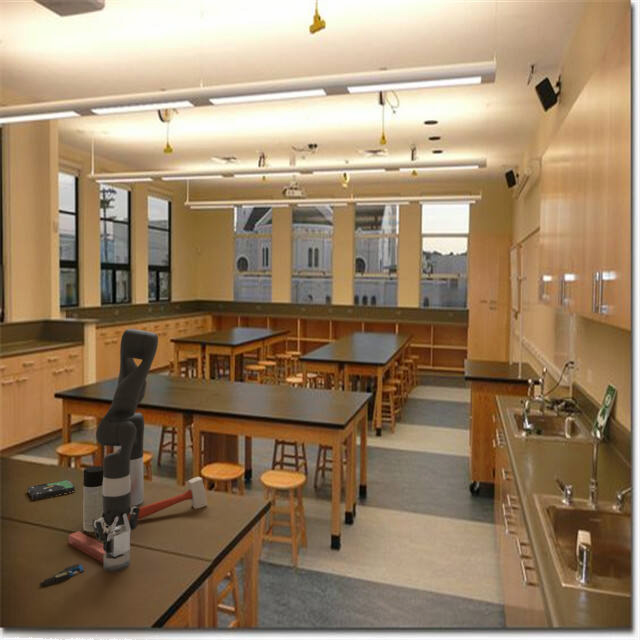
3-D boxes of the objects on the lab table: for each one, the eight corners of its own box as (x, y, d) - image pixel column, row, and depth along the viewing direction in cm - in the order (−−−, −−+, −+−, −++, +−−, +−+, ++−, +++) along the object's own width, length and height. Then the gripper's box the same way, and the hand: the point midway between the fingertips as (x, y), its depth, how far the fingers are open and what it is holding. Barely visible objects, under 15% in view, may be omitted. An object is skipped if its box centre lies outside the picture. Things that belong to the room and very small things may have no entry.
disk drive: (32, 502, 199) (75, 493, 209) (32, 495, 199) (75, 486, 208) (27, 494, 208) (68, 485, 217) (27, 486, 207) (68, 478, 217)
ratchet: (62, 545, 165) (62, 525, 165) (84, 537, 171) (84, 517, 171) (112, 574, 149) (112, 551, 149) (134, 564, 155) (134, 542, 155)
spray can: (100, 522, 182) (100, 464, 181) (108, 528, 178) (108, 469, 177) (80, 528, 178) (79, 468, 177) (88, 534, 173) (87, 473, 172)
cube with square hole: (104, 551, 154) (104, 531, 153) (119, 544, 158) (119, 525, 157) (114, 556, 151) (114, 536, 150) (129, 550, 155) (129, 529, 154)
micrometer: (79, 561, 154) (87, 567, 150) (79, 567, 154) (86, 574, 150) (34, 575, 145) (41, 583, 142) (34, 582, 145) (41, 590, 142)
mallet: (120, 509, 179) (203, 478, 196) (117, 505, 181) (199, 475, 199) (125, 538, 180) (207, 505, 198) (122, 534, 183) (203, 502, 200)
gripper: (131, 480, 161) (131, 536, 162) (85, 494, 150) (85, 554, 151) (146, 486, 157) (146, 543, 158) (100, 501, 145) (100, 562, 146)
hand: (116, 548), depth 154 cm, fingers closed on cube with square hole, 5 cm apart
